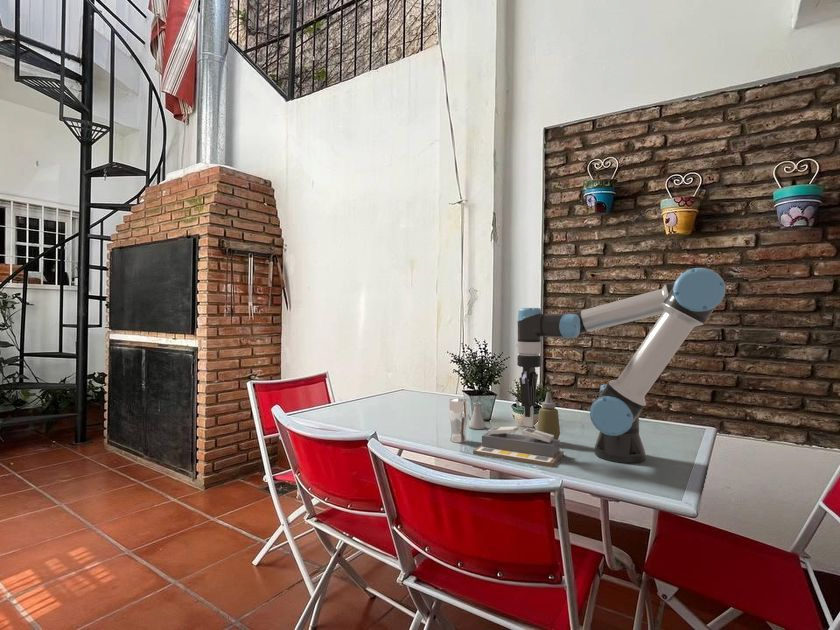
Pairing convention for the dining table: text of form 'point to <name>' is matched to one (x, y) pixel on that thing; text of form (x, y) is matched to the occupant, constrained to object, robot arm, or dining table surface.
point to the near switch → (538, 434)
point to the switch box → (520, 448)
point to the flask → (477, 418)
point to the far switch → (503, 430)
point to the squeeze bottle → (549, 418)
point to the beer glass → (458, 419)
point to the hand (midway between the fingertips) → (528, 426)
